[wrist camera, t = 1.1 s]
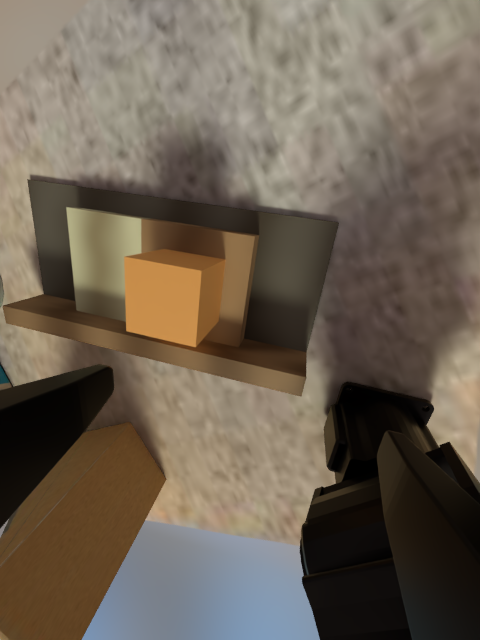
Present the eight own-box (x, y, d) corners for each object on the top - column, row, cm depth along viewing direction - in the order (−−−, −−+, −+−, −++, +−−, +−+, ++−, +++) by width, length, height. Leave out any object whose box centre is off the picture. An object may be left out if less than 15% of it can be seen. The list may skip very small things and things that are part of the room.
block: (225, 259, 18) (201, 270, 14) (218, 321, 20) (195, 347, 16) (163, 248, 19) (124, 256, 15) (162, 309, 21) (126, 331, 16)
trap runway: (338, 222, 18) (346, 222, 14) (302, 366, 22) (301, 396, 18) (30, 179, 22) (-26, 171, 18) (48, 308, 26) (6, 323, 22)
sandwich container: (38, 443, 34) (-146, 595, 20) (129, 418, 29) (-35, 601, 15) (76, 494, 36) (-69, 665, 22) (168, 480, 30) (54, 692, 17)
